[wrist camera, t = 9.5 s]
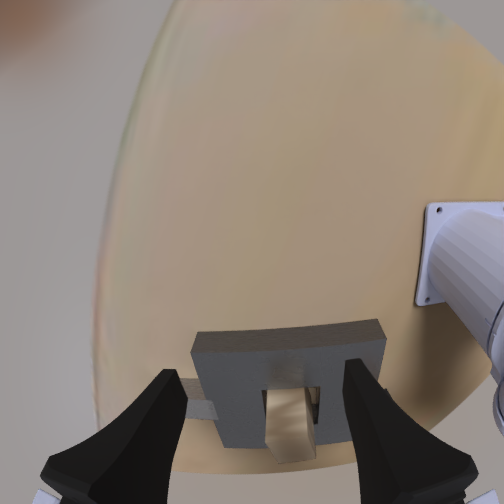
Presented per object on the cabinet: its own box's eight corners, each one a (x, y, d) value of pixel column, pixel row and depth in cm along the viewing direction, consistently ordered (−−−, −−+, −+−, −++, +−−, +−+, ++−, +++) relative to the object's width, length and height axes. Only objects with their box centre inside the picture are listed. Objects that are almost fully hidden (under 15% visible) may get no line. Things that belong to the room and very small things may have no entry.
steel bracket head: (377, 318, 21) (386, 338, 19) (357, 421, 26) (361, 439, 24) (136, 331, 23) (125, 350, 21) (179, 426, 28) (174, 443, 26)
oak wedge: (302, 367, 23) (307, 435, 17) (310, 395, 25) (316, 458, 18) (267, 374, 24) (265, 441, 17) (279, 401, 25) (278, 463, 19)
